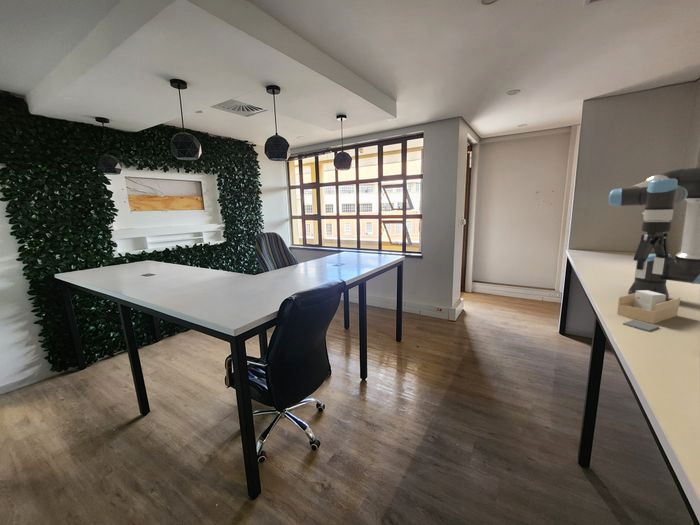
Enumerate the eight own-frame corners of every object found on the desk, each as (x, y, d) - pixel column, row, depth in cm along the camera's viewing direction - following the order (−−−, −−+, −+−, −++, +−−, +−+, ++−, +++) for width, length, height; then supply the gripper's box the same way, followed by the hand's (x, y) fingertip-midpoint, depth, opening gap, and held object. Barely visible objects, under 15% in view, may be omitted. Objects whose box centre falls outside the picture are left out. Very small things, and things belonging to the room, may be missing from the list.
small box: (663, 318, 124) (667, 294, 122) (649, 318, 124) (653, 295, 122) (644, 312, 132) (648, 289, 130) (632, 312, 132) (635, 290, 130)
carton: (640, 307, 138) (643, 291, 136) (677, 315, 127) (680, 297, 125) (616, 314, 130) (619, 297, 128) (653, 324, 118) (656, 304, 117)
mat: (633, 321, 122) (633, 320, 122) (659, 328, 114) (659, 326, 114) (622, 324, 119) (622, 323, 118) (648, 331, 111) (649, 330, 111)
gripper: (659, 219, 118) (651, 270, 122) (626, 222, 108) (619, 277, 112) (686, 220, 111) (676, 274, 115) (654, 222, 102) (645, 281, 105)
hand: (648, 275), depth 114 cm, fingers open, 13 cm apart
